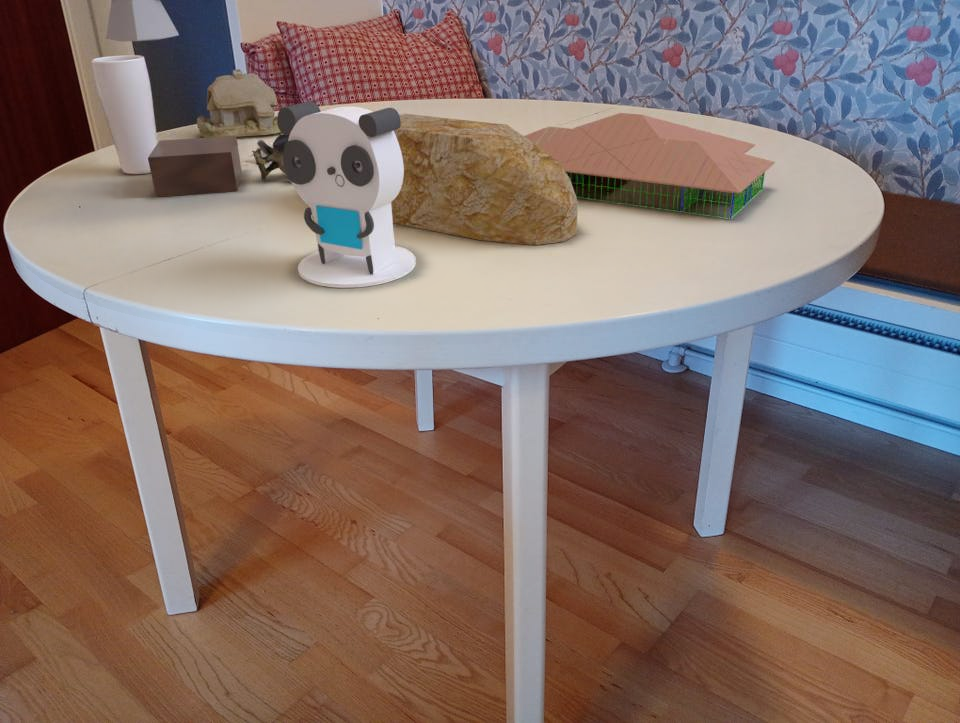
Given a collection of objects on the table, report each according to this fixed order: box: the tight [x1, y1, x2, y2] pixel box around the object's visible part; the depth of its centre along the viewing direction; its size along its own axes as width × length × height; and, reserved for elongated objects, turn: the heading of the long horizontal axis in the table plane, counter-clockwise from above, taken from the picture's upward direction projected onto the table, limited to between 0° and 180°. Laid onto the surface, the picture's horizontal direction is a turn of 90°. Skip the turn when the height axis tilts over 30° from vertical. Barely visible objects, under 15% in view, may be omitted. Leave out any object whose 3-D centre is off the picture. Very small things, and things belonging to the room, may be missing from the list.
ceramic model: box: [196, 68, 281, 138], centre depth 135 cm, size 14×11×10 cm
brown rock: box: [391, 113, 579, 246], centre depth 92 cm, size 36×11×10 cm, turn 56°
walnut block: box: [148, 136, 243, 198], centre depth 107 cm, size 10×10×5 cm
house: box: [523, 112, 776, 220], centre depth 103 cm, size 23×33×8 cm
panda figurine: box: [276, 100, 417, 289], centre depth 77 cm, size 12×11×15 cm
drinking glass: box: [91, 54, 159, 175], centre depth 112 cm, size 7×7×15 cm
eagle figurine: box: [252, 134, 292, 184], centre depth 108 cm, size 8×7×9 cm
